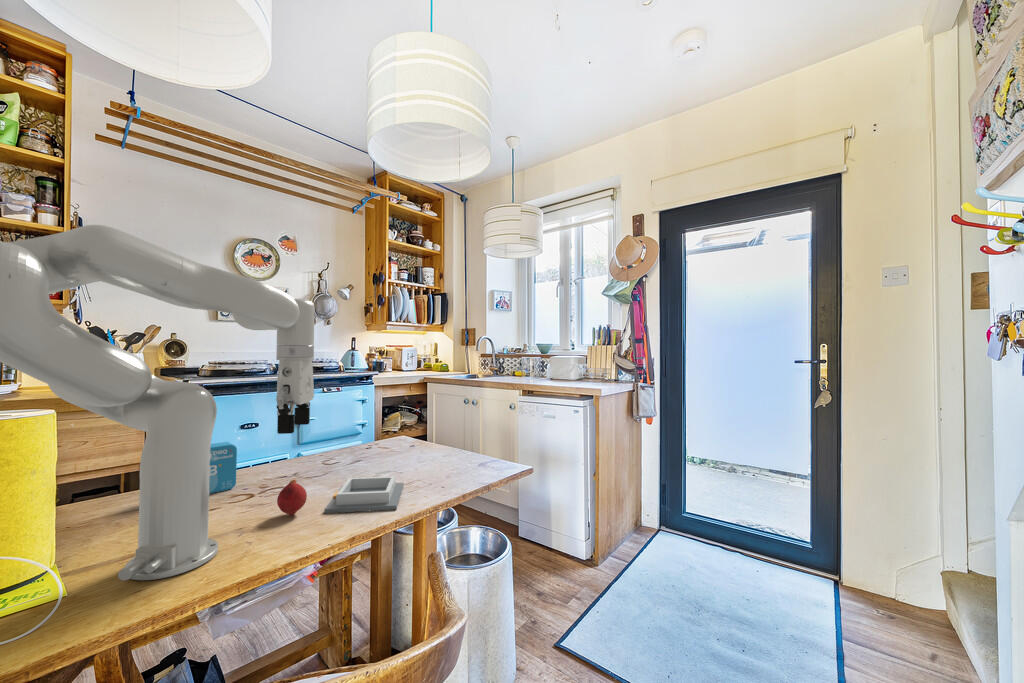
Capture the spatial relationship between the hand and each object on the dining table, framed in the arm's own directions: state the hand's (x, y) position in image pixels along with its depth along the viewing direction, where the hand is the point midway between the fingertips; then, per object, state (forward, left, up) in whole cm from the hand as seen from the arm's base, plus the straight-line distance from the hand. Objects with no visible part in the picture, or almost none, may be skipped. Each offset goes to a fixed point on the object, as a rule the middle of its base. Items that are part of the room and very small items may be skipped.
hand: (294, 428), depth 91 cm
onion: (0, 0, -20) cm, 20 cm away
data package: (+18, +27, -20) cm, 38 cm away
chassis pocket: (+8, -15, -20) cm, 26 cm away
